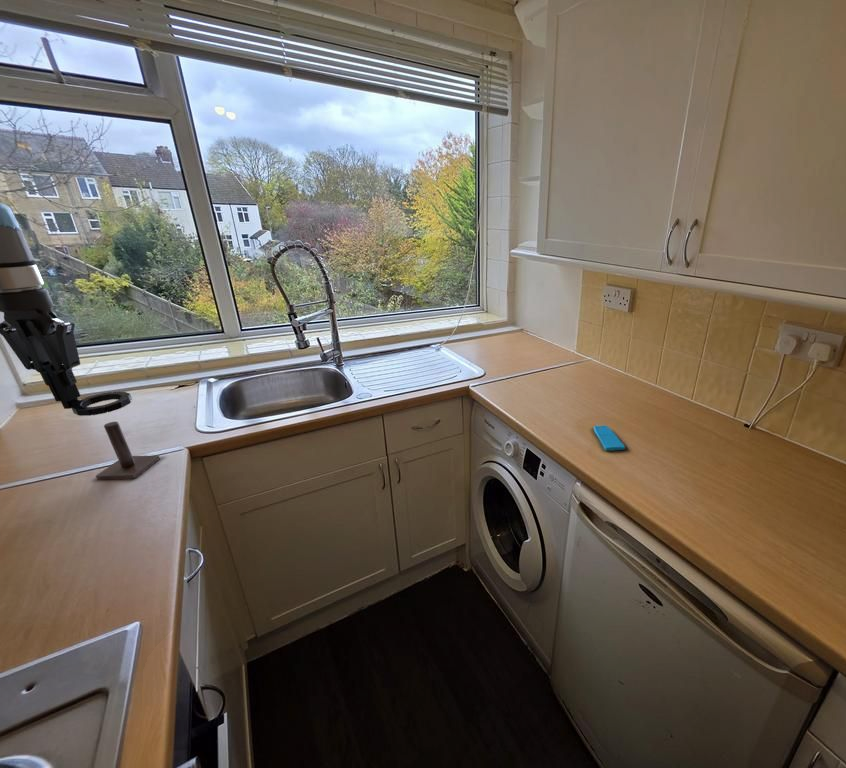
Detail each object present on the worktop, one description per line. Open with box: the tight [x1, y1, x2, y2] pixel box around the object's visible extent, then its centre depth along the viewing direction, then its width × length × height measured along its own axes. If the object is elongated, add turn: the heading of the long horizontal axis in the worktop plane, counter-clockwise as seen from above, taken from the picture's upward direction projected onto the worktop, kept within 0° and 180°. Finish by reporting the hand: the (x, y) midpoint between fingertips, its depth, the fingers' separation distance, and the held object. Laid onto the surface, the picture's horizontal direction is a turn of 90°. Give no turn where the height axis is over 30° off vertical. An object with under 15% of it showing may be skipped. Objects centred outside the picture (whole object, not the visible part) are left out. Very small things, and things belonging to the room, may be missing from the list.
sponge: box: [593, 425, 626, 452], centre depth 112 cm, size 2×12×6 cm
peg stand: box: [95, 421, 161, 480], centre depth 93 cm, size 8×8×12 cm
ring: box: [44, 363, 133, 417], centre depth 87 cm, size 12×9×10 cm
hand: (68, 398), depth 88 cm, fingers closed on ring
